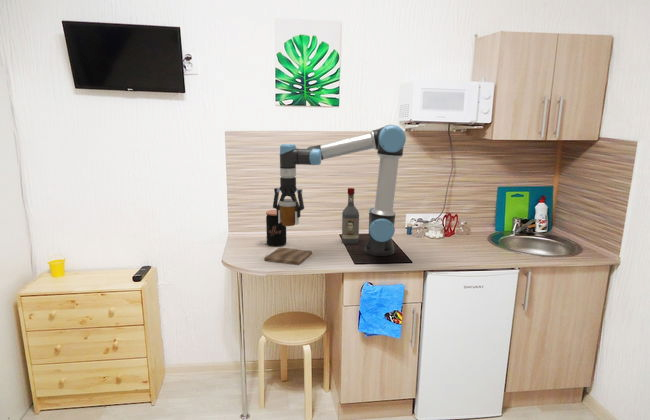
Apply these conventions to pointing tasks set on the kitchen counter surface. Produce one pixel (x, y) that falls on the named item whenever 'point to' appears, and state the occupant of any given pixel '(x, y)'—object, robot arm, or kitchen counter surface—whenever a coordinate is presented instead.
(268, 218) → the coffee jar
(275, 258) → the walnut board
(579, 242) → the kitchen counter surface
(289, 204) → the disposable coffee cup
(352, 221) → the liquor
